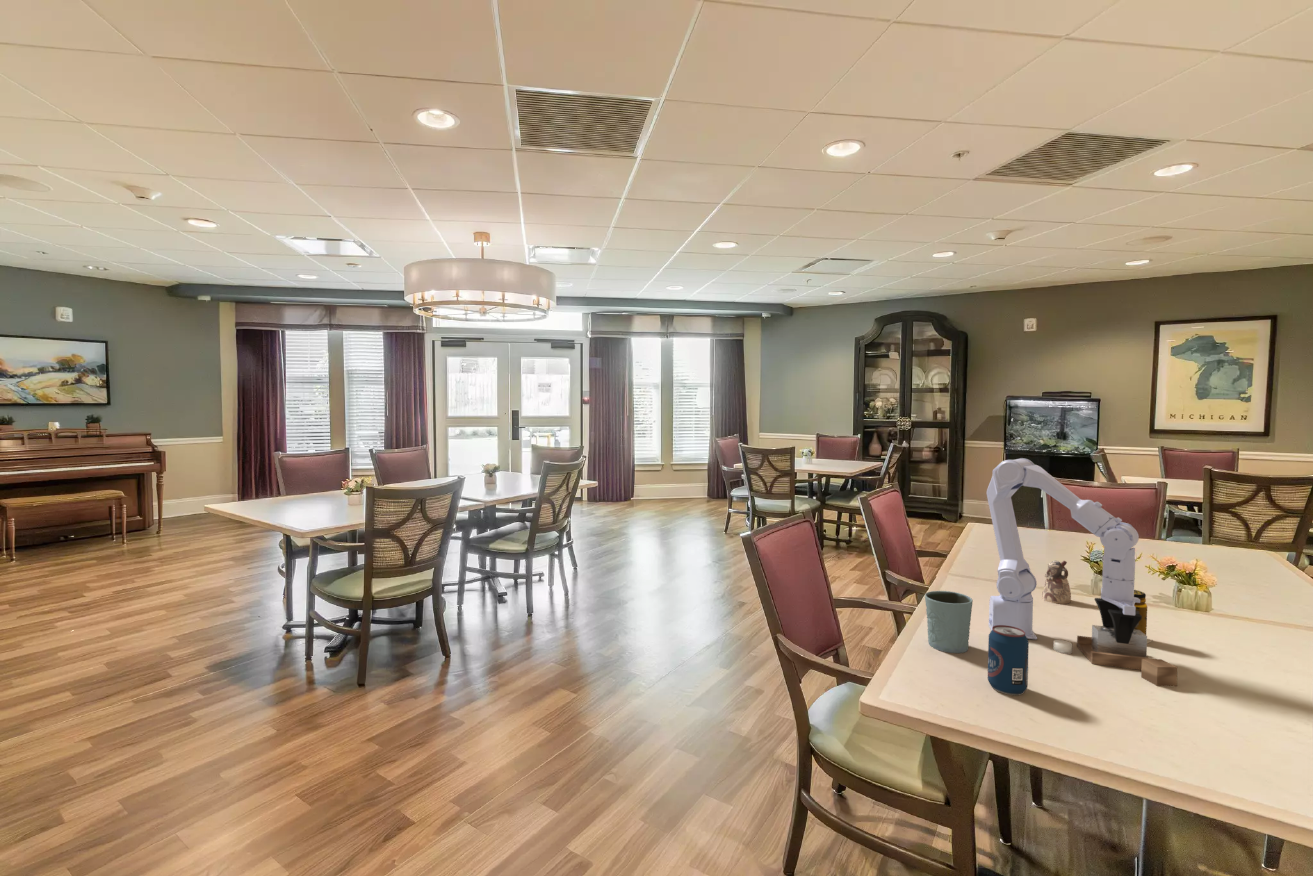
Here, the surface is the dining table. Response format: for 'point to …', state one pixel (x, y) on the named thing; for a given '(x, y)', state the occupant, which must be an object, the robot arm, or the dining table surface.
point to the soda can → (1008, 660)
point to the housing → (1107, 643)
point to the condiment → (1141, 612)
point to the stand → (1108, 656)
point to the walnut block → (1159, 672)
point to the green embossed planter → (948, 620)
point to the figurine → (1056, 584)
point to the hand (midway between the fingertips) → (1115, 636)
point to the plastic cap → (1062, 646)
